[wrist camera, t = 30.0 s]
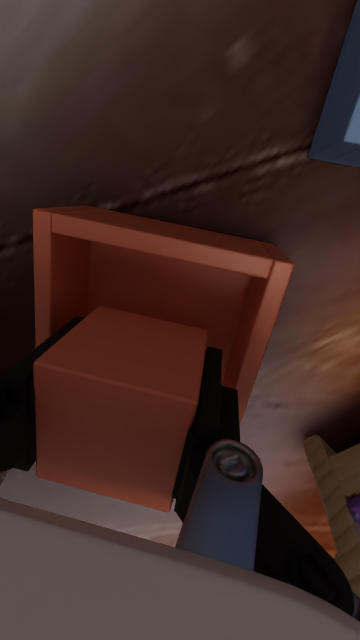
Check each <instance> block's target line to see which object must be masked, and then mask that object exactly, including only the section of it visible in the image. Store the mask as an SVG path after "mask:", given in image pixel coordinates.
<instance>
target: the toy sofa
mask: <svg viewBox="0 0 360 640" xmlns="http://www.w3.org/2000/svg"><path fill="white" fill-rule="evenodd" d="M304 447H305V452H306V455H307V458H308V461H309V464H310V467H311V470H312V473H313V476H314V479H315V482H316V485H317V488H318V491H319V494H320V497H321V500H322V502H323V505H324V508H325V511H326V515H327V518H328V521H329V524H330V528H331V531H332V535H333V538H334V541H335V545H336V548H337V555H336V556H335V558H334V560H335V562H336V563H337V564H338V565H339V567H340V568H341V569H342V570H343V572H344V574H345V576H346V578H347V580H348V581H349V583H350V586H351V590H352V591H353V592H354V593H355V594H356V595H357V596H358V597H360V443H359V444H357V445H355V446H353V447H351V448H348V449H346V450H344V451H342V452H340V453H337V454H336V453H335V452H334V451H333V450H332V449H331V448H330V447H329V446H328V444H327V443H326V442H325V441H324V440H323V439H322V438H321V437H319V436H318V435H313V436H311V437H308V438H307V439H305V441H304Z"/></svg>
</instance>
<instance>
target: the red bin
mask: <svg viewBox="0 0 360 640" xmlns="http://www.w3.org/2000/svg"><path fill="white" fill-rule="evenodd" d="M33 245H34V290H35V335H36V347H38V346H39V345H40V344H41V343H43V342H44V341H45V340H46V339H48V338H49V337H50V336H51V335H53V334H54V333H55V332H56V331H58V330H59V329H60V328H61V327H63V326H64V325H65V324H66V323H68V322H69V321H70V320H71V319H73V318H74V317H75V316H80V317H84V318H86V317H87V316H88V315H89V314H90V313H91V312H93V311H94V310H95V309H96V308H97V307H98V306H104V307H108V308H112V309H117V310H121V311H126V312H130V313H134V314H139V315H143V316H147V317H152V318H156V319H160V320H165V321H169V322H174V323H178V324H182V325H187V326H191V327H195V328H200V329H204V330H207V331H208V338H207V345H206V350H207V348H208V346H209V347H213V348H217V349H221V350H223V355H222V381H221V386H225V387H229V388H233V389H237V390H238V406H239V425H240V422H241V420H242V417H243V414H244V411H245V408H246V405H247V402H248V399H249V396H250V393H251V391H252V388H253V385H254V382H255V379H256V376H257V373H258V370H259V367H260V365H261V362H262V359H263V356H264V353H265V350H266V347H267V344H268V341H269V338H270V336H271V333H272V330H273V327H274V324H275V321H276V318H277V315H278V312H279V310H280V307H281V304H282V301H283V298H284V295H285V292H286V289H287V286H288V283H289V281H290V278H291V275H292V272H293V269H294V263H293V262H292V261H291V260H290V259H289V258H288V257H287V256H286V255H285V254H284V253H283V252H282V251H281V250H280V249H279V248H278V246H277V245H275V244H270V243H265V242H260V241H256V240H251V239H246V238H241V237H236V236H232V235H227V234H222V233H217V232H212V231H207V230H203V229H198V228H193V227H188V226H183V225H179V224H174V223H169V222H164V221H159V220H154V219H150V218H145V217H140V216H135V215H130V214H126V213H121V212H116V211H111V210H106V209H102V208H97V207H92V206H87V205H80V206H66V207H52V208H37V209H33Z"/></svg>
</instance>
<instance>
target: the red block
mask: <svg viewBox="0 0 360 640" xmlns="http://www.w3.org/2000/svg"><path fill="white" fill-rule="evenodd" d="M207 338H208V331H207V330H204V329H200V328H195V327H191V326H187V325H182V324H178V323H174V322H169V321H165V320H160V319H156V318H152V317H147V316H143V315H139V314H134V313H130V312H126V311H121V310H117V309H112V308H108V307H104V306H98V307H97V308H96V309H95V310H94V311H93V312H91V313H90V314H89V315H88V316H87V317H86V318H84V319H83V320H82V321H81V322H80V323H79V324H77V325H76V326H75V327H74V328H73V329H72V330H70V331H69V332H68V333H67V334H66V335H65V336H64V337H62V338H61V339H60V340H59V341H58V342H57V343H55V344H54V345H53V346H52V347H51V348H50V349H48V350H47V351H46V352H45V353H44V354H43V355H41V356H40V357H39V358H38V359H37V360H36V361H35V362H34V364H33V374H34V389H35V407H36V446H37V460H36V475H37V477H39V478H42V479H46V480H50V481H53V482H57V483H61V484H65V485H68V486H72V487H76V488H79V489H83V490H87V491H90V492H94V493H98V494H101V495H105V496H109V497H112V498H116V499H120V500H123V501H127V502H131V503H134V504H138V505H142V506H145V507H149V508H153V509H156V510H160V511H164V512H169V511H170V509H171V506H172V502H173V497H172V491H173V487H174V483H175V479H176V475H177V471H178V468H179V464H180V460H181V456H182V452H183V448H184V444H185V440H186V436H187V432H188V430H189V428H190V427H191V425H192V423H193V421H194V417H195V413H196V409H197V406H198V400H199V393H200V386H201V379H202V372H203V365H204V359H205V352H206V345H207Z"/></svg>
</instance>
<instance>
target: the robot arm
mask: <svg viewBox="0 0 360 640" xmlns="http://www.w3.org/2000/svg"><path fill="white" fill-rule="evenodd" d="M83 319H84V317H80V316H75V317H74V318H73V319H71V320H70V321H69V322H68V323H66V324H65V325H64V326H63V327H61V328H60V329H59V330H58V331H56V332H55V333H54V334H53V335H51V336H50V337H49V338H48V339H46V340H45V341H44V342H43V343H41V344H40V345H39V346H38V347H36V348H35V349H34V350H33V351H31V352H30V353H29V354H27V355H26V356H25V357H24V358H22V359H21V360H20V361H19V362H17V363H16V364H15V365H14V366H12V367H11V368H10V369H9V370H7V371H6V372H5V373H4V374H3V375H2V376H1V377H0V486H1V484H2V482H3V480H4V478H5V476H6V473H7V470H10V469H13V468H17V469H20V470H24V471H28V470H29V469H30V468H31V466H32V465H33V464H34V462H35V461H36V460H37V446H36V407H35V389H34V374H33V364H34V362H35V361H36V360H37V359H38V358H39V357H40V356H41V355H43V354H44V353H45V352H46V351H47V350H48V349H50V348H51V347H52V346H53V345H54V344H55V343H57V342H58V341H59V340H60V339H61V338H62V337H64V336H65V335H66V334H67V333H68V332H69V331H70V330H72V329H73V328H74V327H75V326H76V325H77V324H79V323H80V322H81V321H82V320H83ZM222 355H223V350H221V349H217V348H213V347H209V346H208V348H207V350H206V352H205V359H204V365H203V372H202V379H201V386H200V393H199V400H198V406H197V409H196V413H195V417H194V421H193V423H192V425H191V427H190V428H189V430H188V432H187V436H186V440H185V444H184V448H183V452H182V456H181V460H180V464H179V468H178V471H177V475H176V479H175V483H174V487H173V491H172V497H173V498H175V499H176V504H175V509H174V511H175V512H176V513H177V515H178V516H179V518H180V519H181V521H182V522H183V525H182V528H181V531H180V534H179V537H178V540H177V543H176V546H175V548H174V547H171V546H167V545H164V544H160V543H157V542H153V541H150V540H146V539H143V538H139V537H136V536H132V535H129V534H125V533H122V532H118V531H115V530H111V529H108V528H104V527H101V526H97V525H94V524H90V523H87V522H83V521H80V520H76V519H73V518H69V517H66V516H62V515H58V514H55V513H51V512H48V511H44V510H41V509H37V508H34V507H30V506H26V505H23V504H19V503H16V502H12V501H8V500H5V499H1V498H0V640H360V597H358V596H357V595H356V594H355V593H354V592H353V591H352V590H351V586H350V583H349V581H348V580H347V578H346V576H345V574H344V572H343V570H342V569H341V568H340V567H339V565H338V564H337V563H336V562H335V560H334V559H333V558H332V557H331V556H330V555H329V554H328V553H327V552H326V551H325V550H324V549H323V547H322V546H321V545H320V544H319V543H318V542H317V541H316V540H315V539H314V538H313V537H312V536H311V535H310V534H309V533H308V532H307V531H306V530H305V529H304V528H303V526H302V525H301V524H300V523H299V522H298V521H297V520H296V519H295V518H294V517H293V516H292V515H291V514H290V513H289V512H288V511H287V510H286V509H285V508H284V507H283V506H282V504H281V503H280V502H279V501H278V500H277V499H276V498H275V497H274V496H273V495H272V494H271V493H270V492H269V491H268V490H267V489H266V488H265V487H264V486H263V485H262V478H263V468H262V464H261V462H260V459H259V457H258V456H257V455H256V454H255V452H254V451H253V450H251V449H250V448H249V447H248V446H246V445H245V444H243V443H241V442H240V428H239V406H238V390H237V389H233V388H229V387H225V386H221V381H222Z"/></svg>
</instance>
